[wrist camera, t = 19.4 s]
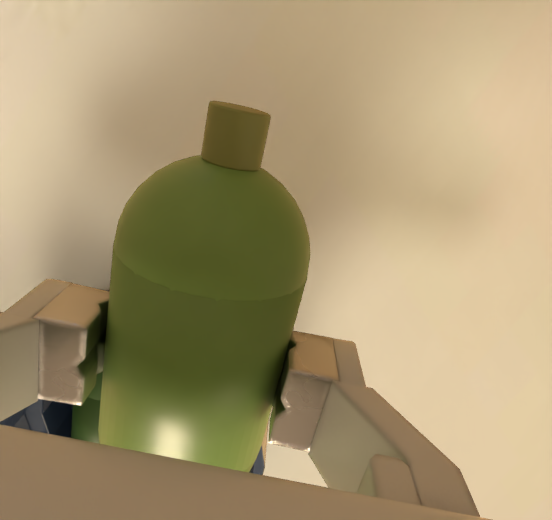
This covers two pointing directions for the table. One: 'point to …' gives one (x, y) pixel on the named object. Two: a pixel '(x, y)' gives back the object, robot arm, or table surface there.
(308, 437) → the robot arm
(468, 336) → the table surface
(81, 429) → the zucchini
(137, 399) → the pale zucchini
